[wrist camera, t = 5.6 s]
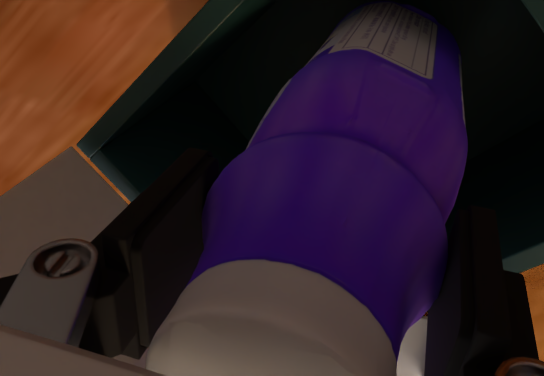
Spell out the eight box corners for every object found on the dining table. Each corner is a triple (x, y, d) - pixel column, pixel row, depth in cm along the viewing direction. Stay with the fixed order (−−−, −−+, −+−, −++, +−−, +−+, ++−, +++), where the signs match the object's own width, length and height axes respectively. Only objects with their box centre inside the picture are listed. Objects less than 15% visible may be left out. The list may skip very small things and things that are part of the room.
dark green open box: (435, -181, 20) (415, -225, 12) (617, 88, 22) (701, 202, 14) (183, 73, 29) (75, 145, 21) (333, 242, 31) (287, 364, 23)
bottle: (361, -32, 20) (141, 155, 6) (489, 30, 20) (578, 382, 6) (293, 116, 24) (67, 436, 10) (398, 169, 24) (318, 576, 10)
